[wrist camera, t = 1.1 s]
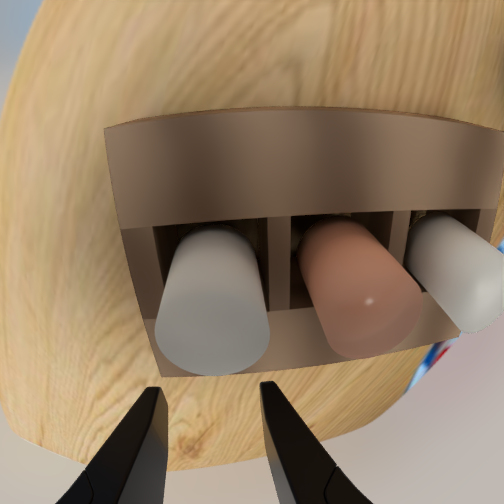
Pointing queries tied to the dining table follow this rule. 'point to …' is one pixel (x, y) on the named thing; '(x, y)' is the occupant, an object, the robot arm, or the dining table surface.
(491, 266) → the far grey plug
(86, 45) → the dining table surface
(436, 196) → the walnut socket block
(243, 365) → the near grey plug
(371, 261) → the terracotta plug
